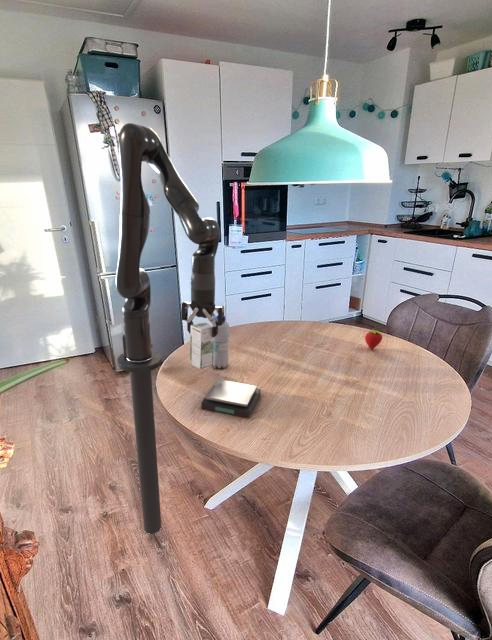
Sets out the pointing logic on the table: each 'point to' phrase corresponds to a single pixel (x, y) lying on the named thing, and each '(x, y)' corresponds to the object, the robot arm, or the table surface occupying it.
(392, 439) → the table surface
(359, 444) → the table surface
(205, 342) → the syrup box
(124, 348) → the robot arm
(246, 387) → the pan
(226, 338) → the bottle
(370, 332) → the strawberry
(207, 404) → the scale
